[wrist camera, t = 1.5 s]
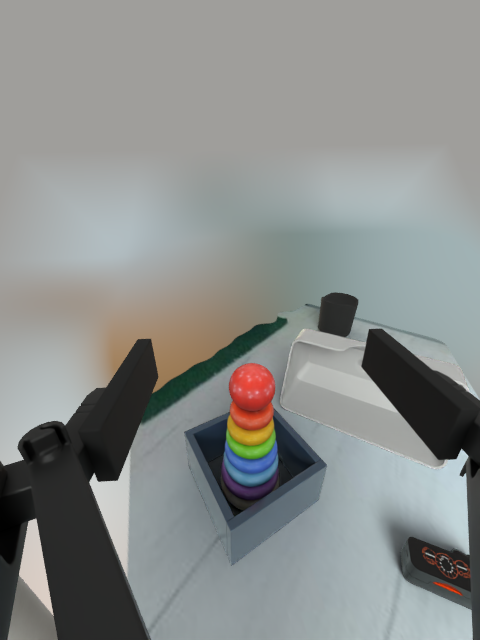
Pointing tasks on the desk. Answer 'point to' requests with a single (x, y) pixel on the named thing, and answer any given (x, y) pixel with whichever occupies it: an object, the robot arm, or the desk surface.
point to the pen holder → (337, 314)
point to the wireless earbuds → (437, 570)
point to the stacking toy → (250, 438)
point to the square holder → (270, 510)
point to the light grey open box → (352, 394)
